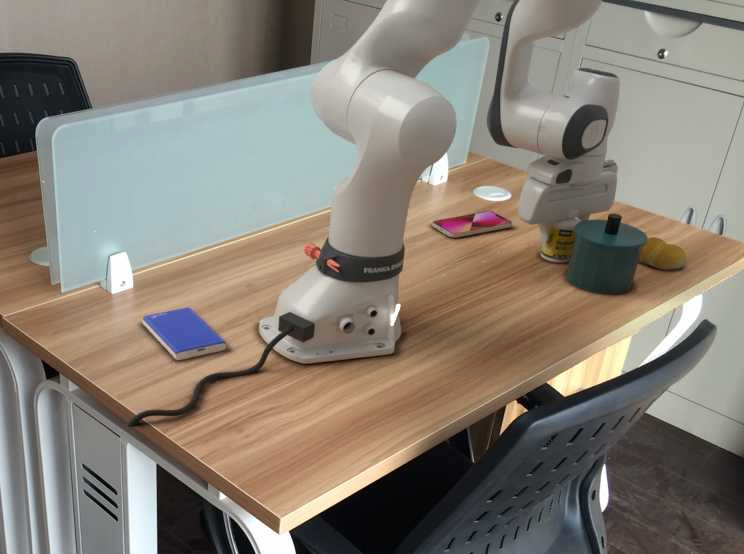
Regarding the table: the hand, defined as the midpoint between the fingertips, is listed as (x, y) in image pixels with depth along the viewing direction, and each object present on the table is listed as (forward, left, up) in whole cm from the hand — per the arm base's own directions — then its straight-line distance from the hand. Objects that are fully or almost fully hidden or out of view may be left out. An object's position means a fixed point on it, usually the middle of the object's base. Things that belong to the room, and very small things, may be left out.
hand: (559, 239), depth 174 cm
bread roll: (+17, -9, -4) cm, 20 cm away
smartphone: (-5, +18, -4) cm, 19 cm away
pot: (0, -11, -4) cm, 11 cm away
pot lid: (0, -11, +5) cm, 12 cm away
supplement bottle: (0, 0, -4) cm, 4 cm away
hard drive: (-76, -1, -4) cm, 76 cm away
